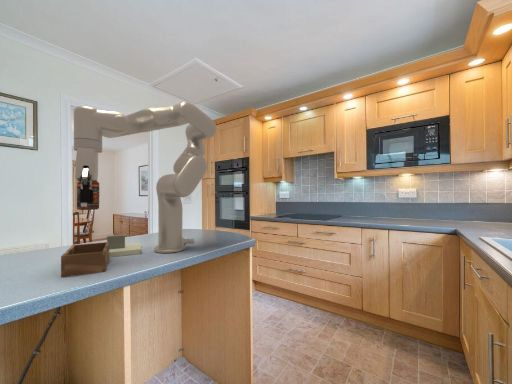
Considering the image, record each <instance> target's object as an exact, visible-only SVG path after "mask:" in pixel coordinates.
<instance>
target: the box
mask: <svg viewBox="0 0 512 384" xmlns="http://www.w3.org/2000/svg"><path fill="white" fill-rule="evenodd" d="M109 261H110V257H109V242H107V241H106V242H93V243H82V244H72V245H71V246H70V247H69V248H68V249H67V250H66V251H65V252H63V254H61V256H60V278H66V277H75V276H76V277H77V276H82V275H89V274H90V275H91V274H96V273H97V274H98V273H104V272H106V271H107V268H108V264H109Z"/></svg>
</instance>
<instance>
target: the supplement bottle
mask: <svg viewBox="0 0 512 384" xmlns="http://www.w3.org/2000/svg"><path fill="white" fill-rule="evenodd" d="M81 176H82V175H81ZM88 180H91V179H88ZM89 185H90V184H89ZM80 190H81V180H80V181H77V183H76V209H77V210H78V211H94V210H100V182H99V181H98V179H97V180H95V181H92V190H93V202H92V203H81V202H80Z"/></svg>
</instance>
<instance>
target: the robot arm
mask: <svg viewBox="0 0 512 384" xmlns="http://www.w3.org/2000/svg"><path fill="white" fill-rule="evenodd" d="M183 125H186V128H185V137H186V140H187V145H186V147H185V149H184V150H183V151H182V153H181V154H180V155H179V157H178V158H177V159H176V160H175V162H174V164H173V167H172V170H173V172H174V173H170V174H164V175H161V177H159V178H158V180H157V182H156V186H155V189H156V195H157V204H158V210H157V211H158V213H157V214H158V225H157V226H158V231H157V232H158V233H157V234H158V241H157V242H158V245H157V246H154V248H153V249H154V250H153V251H154V252H155V253H158V254H171V253H178V252H183V251H184V250H185V251H186V249H187V244H189V245H190V244H194V243H195V239H194V238H184V237H183V203H182V199H181V198H186V197H189V196H191V194H193V193H194V191H195V189H196V188H198V185H199V183H200V182H201V181H202V179H203V177H204V176H205V175H206V172H207V168H208V164H207V161H206V159H205V152H206V149H205V145H204V140H206V139H210V138H212V137H215V135H216V134H217V130H218V128H217V125H216V123H215V120H213V119H212V117H210V116H209V115H207V114H206V113H205V112H204V111H202V109H200V108H199V107H197V106H196V105H194V104H193V103H191V102H189V101H181V102H179V103H177V104H173V105H165V106H155V107H148V108H144V109H143V108H142V109H141V110H138V111H135V112H132V113H128V114H124V113H122V112H120V111H113V110H103V109H97V108H95V107H92V106H86V105H80V106H76V107H74V109H73V150H74V151H76V156H75V172H74V173H75V175H74V179H75V180H76V181H77V182H79V181H80V180H81V190H80V202H81V203H92V202H93V190H92V181H95V180H97V181H98V177H99V154H100V153H103V137H104V138H107V139H111V138H112V139H113V138H120V137H123V136H124V137H125V136H131V135H135V134H141V133H149V132H150V133H151V132H153V131H159V130H164V129H169V128H176V127H181V126H183ZM81 175H82V176H81ZM88 179H91V180H88ZM89 184H90V185H89Z"/></svg>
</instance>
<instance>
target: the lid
mask: <svg viewBox="0 0 512 384" xmlns="http://www.w3.org/2000/svg"><path fill="white" fill-rule="evenodd" d="M106 242H109V258H114V257H116V258H117V257H123V256H132V255H142V253H143V251H142V250H143V249H142V244H141V242H133V243H132V242H131V243H126V234H124V233H123V234H112V235H107V236H106Z"/></svg>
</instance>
